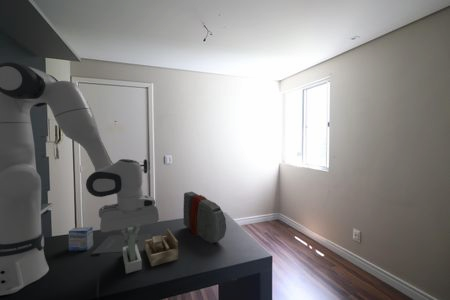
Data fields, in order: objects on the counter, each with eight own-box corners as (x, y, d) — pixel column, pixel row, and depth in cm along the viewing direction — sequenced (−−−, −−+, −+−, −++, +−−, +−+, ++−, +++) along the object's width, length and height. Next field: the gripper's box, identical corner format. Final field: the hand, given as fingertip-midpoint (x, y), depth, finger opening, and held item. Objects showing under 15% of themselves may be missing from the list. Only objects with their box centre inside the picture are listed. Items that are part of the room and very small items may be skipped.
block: (130, 268, 78) (130, 235, 77) (128, 254, 87) (127, 225, 86) (135, 266, 79) (134, 234, 78) (132, 253, 88) (131, 224, 87)
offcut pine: (153, 248, 84) (153, 242, 84) (152, 241, 89) (152, 236, 89) (161, 246, 85) (161, 241, 85) (159, 240, 91) (159, 235, 90)
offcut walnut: (155, 255, 83) (155, 249, 83) (150, 247, 89) (150, 242, 89) (163, 252, 85) (163, 247, 85) (158, 245, 91) (158, 240, 91)
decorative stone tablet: (182, 191, 113) (217, 210, 91) (192, 189, 118) (229, 207, 95) (181, 226, 116) (215, 253, 93) (191, 223, 120) (227, 248, 97)
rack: (151, 268, 80) (151, 247, 79) (145, 251, 92) (144, 233, 91) (178, 260, 84) (177, 241, 84) (168, 245, 97) (168, 228, 96)
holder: (126, 275, 75) (125, 264, 75) (123, 256, 88) (122, 247, 87) (141, 271, 78) (141, 260, 78) (136, 253, 90) (136, 244, 90)
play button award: (109, 235, 105) (151, 233, 107) (109, 238, 105) (151, 236, 107) (92, 252, 89) (141, 250, 91) (92, 256, 89) (142, 254, 91)
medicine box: (68, 251, 93) (67, 231, 92) (75, 246, 97) (74, 227, 97) (87, 250, 93) (87, 230, 93) (93, 245, 97) (92, 226, 97)
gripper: (98, 208, 74) (99, 248, 75) (159, 200, 84) (160, 235, 84) (98, 204, 79) (99, 240, 80) (155, 196, 89) (156, 229, 90)
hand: (131, 238), depth 82 cm, fingers closed on block, 2 cm apart
